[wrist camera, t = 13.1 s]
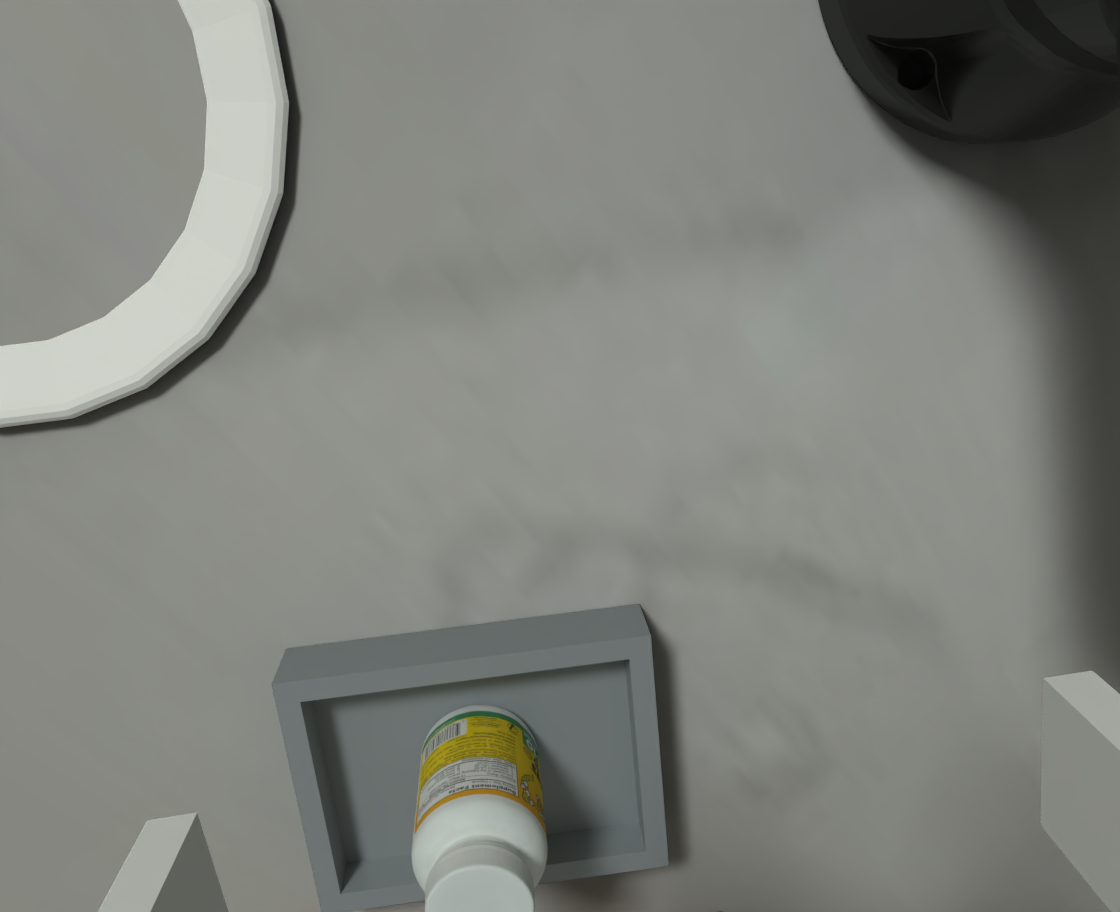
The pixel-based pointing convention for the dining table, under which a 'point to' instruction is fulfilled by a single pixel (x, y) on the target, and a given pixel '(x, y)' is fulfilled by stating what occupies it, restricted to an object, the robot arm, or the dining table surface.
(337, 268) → the dining table surface
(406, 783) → the slate tray
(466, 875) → the supplement bottle
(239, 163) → the white flat ring
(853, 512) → the dining table surface
